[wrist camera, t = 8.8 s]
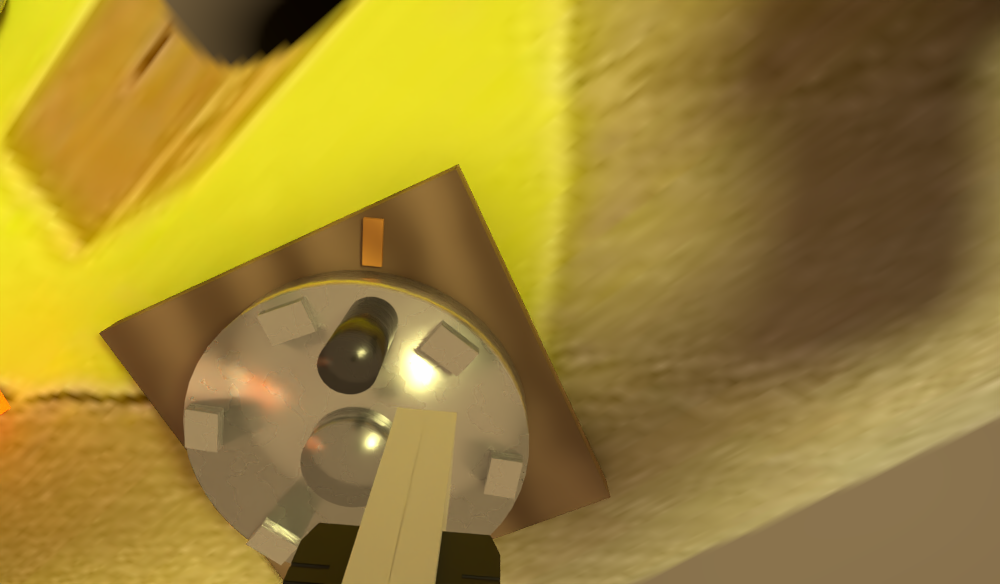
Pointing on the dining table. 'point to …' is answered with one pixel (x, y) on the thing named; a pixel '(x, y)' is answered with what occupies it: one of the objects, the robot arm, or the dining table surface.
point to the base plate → (404, 252)
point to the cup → (2, 5)
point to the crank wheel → (349, 405)
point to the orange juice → (3, 404)
